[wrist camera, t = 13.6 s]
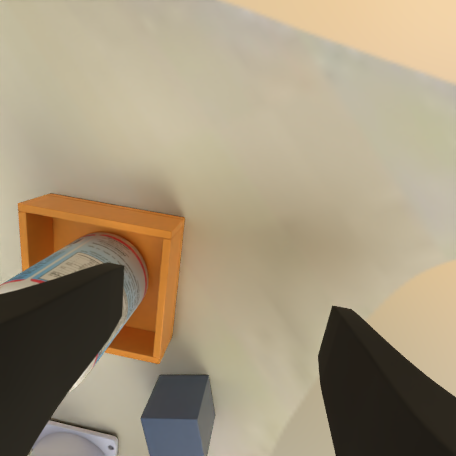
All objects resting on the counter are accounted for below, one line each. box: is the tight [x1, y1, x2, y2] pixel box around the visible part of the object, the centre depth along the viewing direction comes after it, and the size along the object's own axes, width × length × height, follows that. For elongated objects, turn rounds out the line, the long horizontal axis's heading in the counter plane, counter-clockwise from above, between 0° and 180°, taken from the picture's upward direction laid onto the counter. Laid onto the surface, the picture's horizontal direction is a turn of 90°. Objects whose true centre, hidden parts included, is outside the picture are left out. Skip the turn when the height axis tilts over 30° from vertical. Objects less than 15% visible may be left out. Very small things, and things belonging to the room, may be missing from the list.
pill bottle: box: [0, 232, 149, 393], centre depth 17 cm, size 6×6×11 cm
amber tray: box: [18, 193, 185, 364], centre depth 22 cm, size 10×10×3 cm
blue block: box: [141, 375, 215, 456], centre depth 24 cm, size 4×4×4 cm
